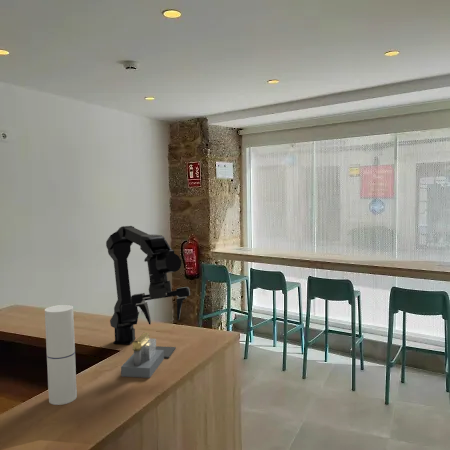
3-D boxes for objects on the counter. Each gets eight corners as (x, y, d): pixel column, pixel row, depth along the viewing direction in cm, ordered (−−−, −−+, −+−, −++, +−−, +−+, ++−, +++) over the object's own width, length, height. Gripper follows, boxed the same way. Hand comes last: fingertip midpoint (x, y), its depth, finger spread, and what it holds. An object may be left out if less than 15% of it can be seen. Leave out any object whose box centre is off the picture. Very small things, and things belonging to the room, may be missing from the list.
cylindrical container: (50, 407, 115) (46, 313, 113) (47, 396, 121) (43, 307, 119) (78, 400, 118) (75, 309, 116) (74, 390, 125) (71, 303, 123)
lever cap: (134, 359, 139) (133, 345, 138) (141, 351, 146) (141, 338, 145) (149, 360, 138) (149, 346, 138) (156, 352, 145) (155, 338, 145)
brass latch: (131, 350, 133) (131, 343, 133) (142, 339, 143) (142, 332, 143) (139, 351, 133) (139, 343, 133) (150, 339, 143) (150, 332, 143)
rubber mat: (134, 356, 149) (134, 355, 149) (143, 347, 158) (143, 345, 158) (168, 358, 147) (168, 356, 147) (175, 348, 156) (175, 347, 156)
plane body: (121, 376, 134) (120, 352, 133) (138, 357, 148) (137, 335, 148) (149, 377, 132) (149, 353, 132) (164, 358, 147) (163, 336, 146)
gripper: (124, 279, 135) (130, 330, 133) (184, 270, 135) (191, 321, 134) (131, 277, 146) (137, 325, 144) (187, 269, 146) (193, 316, 145)
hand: (164, 322), depth 142 cm, fingers open, 9 cm apart
